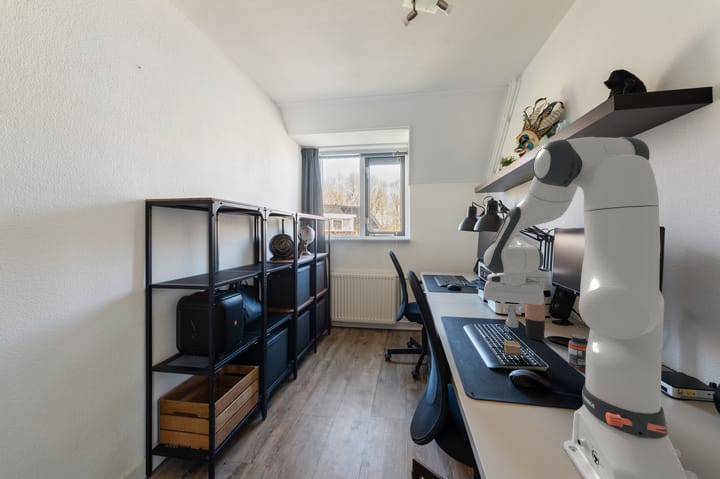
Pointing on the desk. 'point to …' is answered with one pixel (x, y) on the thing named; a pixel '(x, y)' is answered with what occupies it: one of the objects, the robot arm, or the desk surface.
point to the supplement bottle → (577, 352)
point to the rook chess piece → (512, 317)
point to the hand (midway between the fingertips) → (512, 313)
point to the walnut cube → (512, 348)
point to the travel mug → (535, 320)
